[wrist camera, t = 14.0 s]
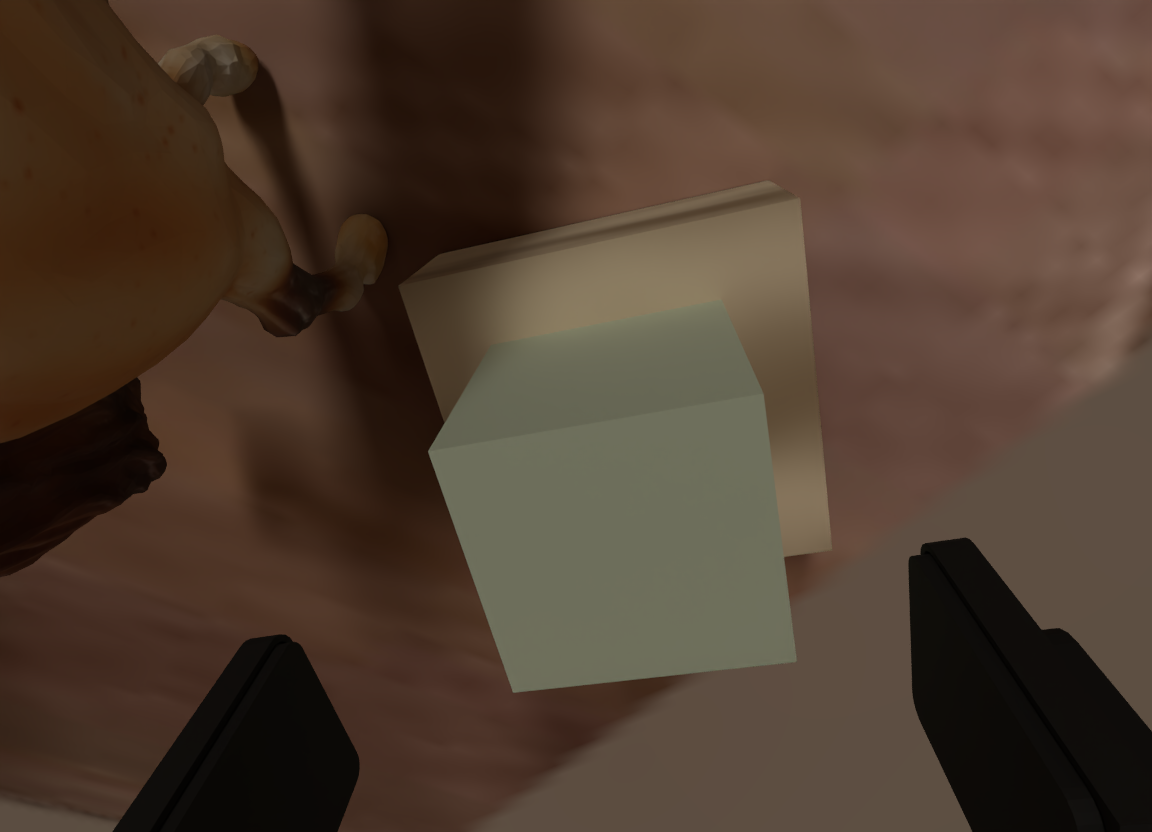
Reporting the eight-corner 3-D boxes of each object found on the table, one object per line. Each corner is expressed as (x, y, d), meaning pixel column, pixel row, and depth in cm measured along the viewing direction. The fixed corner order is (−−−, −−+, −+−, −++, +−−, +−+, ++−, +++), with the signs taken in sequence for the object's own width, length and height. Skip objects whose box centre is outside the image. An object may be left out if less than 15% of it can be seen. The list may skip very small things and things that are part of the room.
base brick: (438, 254, 21) (398, 286, 17) (768, 180, 19) (799, 198, 16) (521, 522, 25) (502, 594, 21) (801, 480, 23) (832, 550, 20)
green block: (490, 345, 18) (428, 451, 12) (721, 299, 17) (763, 393, 11) (546, 533, 20) (512, 692, 15) (750, 503, 19) (796, 662, 14)
